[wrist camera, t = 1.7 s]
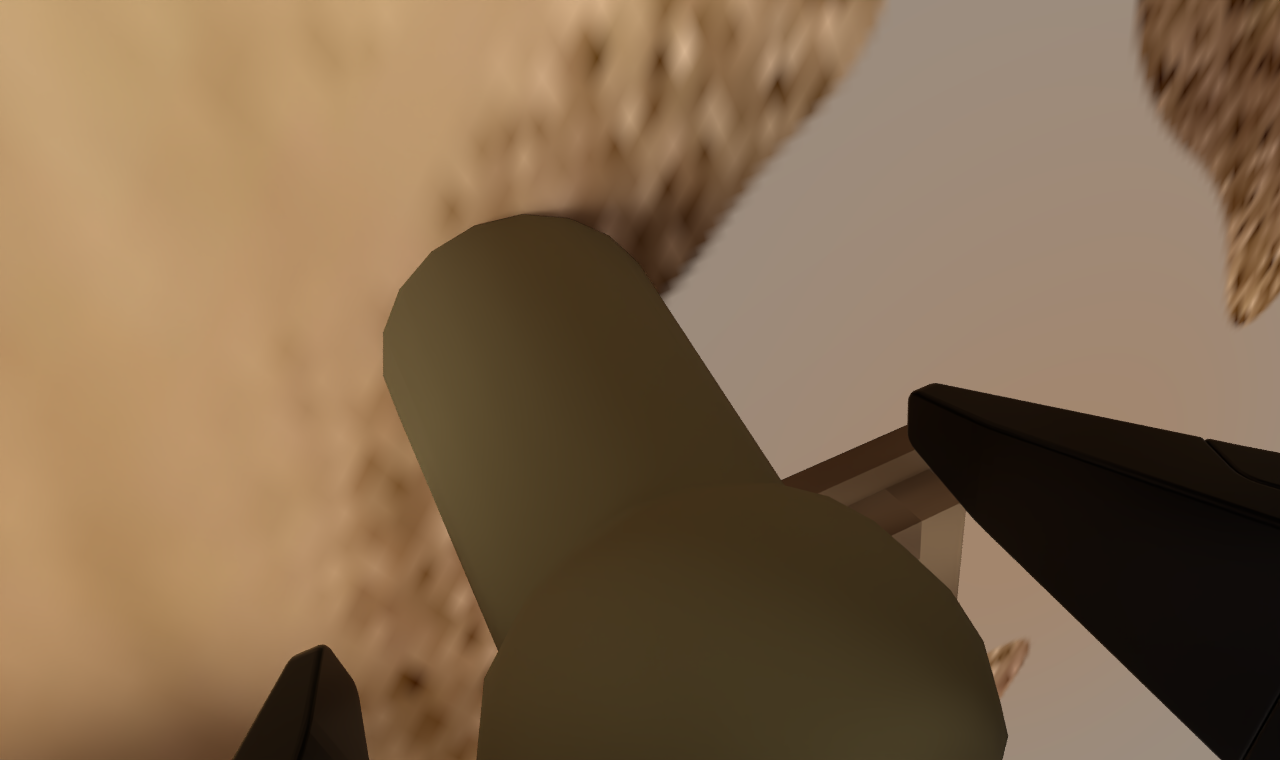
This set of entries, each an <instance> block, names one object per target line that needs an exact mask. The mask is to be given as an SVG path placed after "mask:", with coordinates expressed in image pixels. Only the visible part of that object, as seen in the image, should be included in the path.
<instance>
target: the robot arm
mask: <svg viewBox="0 0 1280 760" xmlns="http://www.w3.org/2000/svg"><path fill="white" fill-rule="evenodd" d="M907 434H908V438H909V441H910V443H911V445H912V447H913V448H914V449H915V451H916V452H917V453H918V454H919V455H920V457H921V458H922V459H923V460H924V461H925V462H926V464H927V465H928V466H929V467H930V468H931V470H932V471H933V472H934V473H935V474H936V476H937V477H938V478H939V479H940V480H941V482H942V483H943V484H944V485H945V486H946V487H947V489H948V490H949V491H950V492H951V493H952V495H953V496H954V497H955V498H956V499H957V501H958V502H959V503H960V504H961V505H962V506H963V508H964V509H965V510H966V511H967V512H968V513H969V514H970V515H971V517H972V518H973V519H974V520H975V521H976V522H977V523H978V524H979V525H980V526H981V527H982V528H983V529H984V530H985V531H986V532H987V533H988V534H989V535H990V536H991V537H992V538H993V539H994V540H995V541H996V542H997V543H998V544H999V545H1000V546H1001V547H1002V548H1003V549H1004V550H1006V552H1008V553H1009V554H1010V555H1011V556H1012V557H1013V558H1014V559H1015V560H1016V561H1017V562H1018V563H1019V564H1020V565H1021V566H1022V567H1023V568H1024V569H1025V570H1026V571H1027V572H1028V573H1029V574H1030V575H1031V576H1032V577H1033V578H1034V579H1035V580H1036V581H1037V582H1038V583H1039V584H1040V585H1041V586H1043V587H1044V588H1045V589H1046V590H1047V591H1048V592H1049V593H1050V594H1051V595H1052V596H1053V597H1054V598H1055V599H1056V600H1057V601H1058V602H1059V603H1060V604H1061V605H1062V606H1063V607H1064V608H1065V609H1066V610H1067V611H1068V612H1069V613H1070V614H1071V615H1072V616H1073V617H1074V618H1075V619H1076V620H1078V621H1079V622H1080V623H1081V624H1082V625H1083V626H1084V627H1085V628H1086V629H1087V630H1088V631H1089V632H1090V633H1091V634H1092V635H1093V636H1094V637H1095V638H1096V639H1097V640H1098V641H1099V642H1100V643H1101V644H1102V645H1103V646H1104V647H1106V649H1107V650H1108V651H1109V652H1110V653H1111V654H1113V655H1114V656H1115V657H1116V658H1117V659H1118V660H1119V661H1120V662H1121V663H1122V664H1123V665H1124V666H1125V667H1126V668H1127V669H1128V670H1129V671H1130V672H1131V673H1132V674H1133V675H1134V676H1135V677H1136V678H1137V679H1138V680H1139V681H1140V682H1141V683H1142V684H1143V685H1145V687H1147V689H1149V690H1150V691H1151V692H1152V693H1153V694H1154V695H1155V696H1156V697H1157V698H1158V699H1159V700H1160V701H1161V702H1162V703H1163V704H1164V705H1165V706H1166V707H1167V708H1168V709H1169V710H1170V711H1171V712H1172V713H1173V714H1174V715H1175V716H1177V718H1178V719H1180V721H1181V722H1183V723H1184V724H1185V725H1186V726H1187V727H1188V728H1189V729H1190V730H1191V731H1192V732H1193V733H1194V734H1195V735H1196V736H1197V737H1198V738H1199V739H1200V740H1201V741H1202V742H1203V743H1204V744H1205V745H1206V746H1207V747H1208V748H1209V749H1210V750H1211V751H1212V752H1213V753H1214V754H1215V755H1217V756H1218V757H1219V758H1220V759H1221V760H1280V453H1278V452H1273V451H1267V450H1262V449H1257V448H1252V447H1246V446H1241V445H1236V444H1232V443H1227V442H1222V441H1217V440H1213V439H1206V440H1204V439H1203V438H1201V437H1197V436H1192V435H1187V434H1182V433H1178V432H1172V431H1168V430H1163V429H1158V428H1153V427H1148V426H1144V425H1138V424H1134V423H1129V422H1124V421H1119V420H1114V419H1109V418H1105V417H1100V416H1095V415H1090V414H1085V413H1080V412H1075V411H1070V410H1065V409H1060V408H1055V407H1051V406H1045V405H1041V404H1036V403H1031V402H1026V401H1021V400H1016V399H1012V398H1007V397H1002V396H997V395H992V394H987V393H982V392H978V391H972V390H968V389H963V388H958V387H953V386H948V385H943V384H938V383H933V384H929V385H927V386H924V387H922V388H920V389H917V390H915V391H913V392H912V393H911V394H910V396H909V399H908V423H907ZM233 760H369V757H368V751H367V744H366V738H365V732H364V725H363V719H362V713H361V706H360V700H359V695H358V691H357V688H356V685H355V683H354V681H353V679H352V678H351V676H350V675H349V674H348V672H347V671H346V669H345V668H344V667H343V665H342V664H341V663H340V661H339V660H338V658H337V657H336V656H335V654H334V653H333V652H332V650H331V649H330V648H329V647H327V646H326V645H318V646H316V647H313V648H311V649H309V650H306V651H304V652H302V653H299V654H297V655H295V656H293V657H292V658H291V659H290V660H289V661H288V663H287V664H286V666H285V668H284V670H283V671H282V673H281V675H280V677H279V679H278V680H277V682H276V684H275V686H274V687H273V689H272V691H271V693H270V694H269V696H268V698H267V700H266V701H265V703H264V705H263V707H262V709H261V710H260V712H259V714H258V716H257V717H256V719H255V721H254V723H253V724H252V726H251V728H250V730H249V731H248V733H247V735H246V737H245V738H244V740H243V742H242V744H241V746H240V747H239V749H238V751H237V753H236V754H235V756H234V758H233Z"/></svg>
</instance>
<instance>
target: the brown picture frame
mask: <svg viewBox="0 0 1280 760" xmlns="http://www.w3.org/2000/svg"><path fill="white" fill-rule="evenodd" d="M781 481H782V483H783V484H784V485H785V486H789V487H793V488H797V489H801V490H805V491H809V492H813V493H817V494H821V495H825V496H829V497H831V498H833V499H835V500H836V501H838V502H840V503H842V504H844V505H846V506H848V507H849V508H851V509H853V510H855V511H857V512H859V513H860V514H862V515H864V516H866V517H868V518H870V519H872V520H873V521H875V522H876V523H877V524H878V525H879V526H881V527H882V528H883V529H884V530H885V531H886V532H888V533H889V534H890V535H891V536H892V537H893V538H894V539H896V540H897V541H898V542H899V543H900V544H901V545H902V546H904V547H905V548H906V549H907V550H908V551H909V552H910V553H911V554H912V555H914V556H915V557H916V558H917V559H918V560H919V561H920V562H921V563H922V564H923V565H924V566H925V567H926V568H928V569H929V570H930V571H931V572H932V573H933V574H934V575H935V576H936V577H937V578H938V579H939V580H940V581H942V582H943V583H944V584H945V585H946V586H947V587H948V588H949V589H950V590H951V591H952V593H953V595H954V596H955V598H956V599H957V594H958V583H959V573H960V564H961V563H960V562H961V553H962V542H963V533H964V523H965V522H964V521H965V512H966V510H965V509H964V508H963V506H962V505H961V504H960V503H959V502H958V501H957V499H956V498H955V497H954V496H953V495H952V493H951V492H950V491H949V490H948V489H947V487H946V486H945V485H944V484H943V483H942V482H941V480H940V479H939V478H938V477H937V476H936V474H935V473H934V472H933V471H932V470H931V468H930V467H929V466H928V465H927V464H926V462H925V461H924V460H923V459H922V458H921V457H920V455H919V454H918V453H917V452H916V451H915V449H914V448H913V447H912V445H911V443H910V441H909V438H908V434H907V425H906V426H904V427H901V428H899V429H897V430H894V431H892V432H890V433H888V434H886V435H883V436H881V437H878V438H876V439H874V440H872V441H869V442H867V443H865V444H862V445H860V446H858V447H856V448H854V449H851V450H849V451H847V452H845V453H842V454H840V455H837V456H835V457H833V458H831V459H828V460H826V461H824V462H822V463H819V464H817V465H815V466H813V467H810V468H808V469H806V470H804V471H801V472H799V473H797V474H794V475H792V476H790V477H787V478H785V479H783V480H781Z"/></svg>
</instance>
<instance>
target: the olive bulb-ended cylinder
mask: <svg viewBox="0 0 1280 760" xmlns="http://www.w3.org/2000/svg"><path fill="white" fill-rule="evenodd" d="M383 376H384V379H385V382H386V384H387V387H388V389H389V392H390V394H391V397H392V400H393V402H394V405H395V407H396V410H397V412H398V415H399V417H400V420H401V422H402V424H403V427H404V429H405V432H406V434H407V436H408V439H409V441H410V443H411V446H412V448H413V451H414V453H415V455H416V458H417V460H418V462H419V465H420V467H421V469H422V472H423V474H424V477H425V479H426V481H427V484H428V486H429V488H430V491H431V493H432V496H433V498H434V500H435V503H436V505H437V507H438V510H439V512H440V514H441V517H442V519H443V522H444V524H445V526H446V529H447V531H448V533H449V536H450V538H451V541H452V543H453V545H454V548H455V550H456V552H457V555H458V557H459V560H460V562H461V564H462V567H463V569H464V571H465V574H466V576H467V578H468V581H469V583H470V586H471V588H472V590H473V593H474V595H475V597H476V600H477V602H478V605H479V607H480V609H481V612H482V614H483V616H484V619H485V621H486V623H487V626H488V628H489V631H490V633H491V635H492V638H493V640H494V642H495V645H496V647H497V650H498V653H497V655H496V657H495V659H494V661H493V663H492V665H491V666H490V668H489V670H488V672H487V674H486V676H485V678H484V686H483V696H482V707H481V718H480V728H479V739H478V750H477V760H1002V759H1003V755H1004V751H1005V747H1006V742H1007V738H1008V734H1007V729H1006V725H1005V721H1004V716H1003V712H1002V707H1001V703H1000V699H999V696H998V692H997V689H996V685H995V681H994V678H993V674H992V671H991V667H990V663H989V660H988V656H987V653H986V649H985V645H984V642H983V640H982V638H981V637H980V635H979V634H978V632H977V630H976V629H975V628H974V626H973V624H972V623H971V621H970V620H969V618H968V616H967V615H966V614H965V612H964V610H963V609H962V607H961V606H960V604H959V603H958V601H957V599H956V598H955V596H954V595H953V593H952V591H951V590H950V589H949V588H948V587H947V586H946V585H945V584H944V583H943V582H942V581H940V580H939V579H938V578H937V577H936V576H935V575H934V574H933V573H932V572H931V571H930V570H929V569H928V568H926V567H925V566H924V565H923V564H922V563H921V562H920V561H919V560H918V559H917V558H916V557H915V556H914V555H912V554H911V553H910V552H909V551H908V550H907V549H906V548H905V547H904V546H902V545H901V544H900V543H899V542H898V541H897V540H896V539H894V538H893V537H892V536H891V535H890V534H889V533H888V532H886V531H885V530H884V529H883V528H882V527H881V526H879V525H878V524H877V523H876V522H875V521H873V520H872V519H870V518H868V517H866V516H864V515H862V514H860V513H859V512H857V511H855V510H853V509H851V508H849V507H848V506H846V505H844V504H842V503H840V502H838V501H836V500H835V499H833V498H831V497H829V496H825V495H821V494H817V493H813V492H809V491H805V490H801V489H797V488H793V487H789V486H785V485H784V484H783V483H782V481H781V480H780V478H779V477H778V475H777V474H776V472H775V471H774V469H773V467H772V466H771V464H770V463H769V461H768V460H767V458H766V457H765V455H764V454H763V452H762V451H761V449H760V447H759V446H758V444H757V443H756V442H755V440H754V438H753V437H752V435H751V434H750V432H749V431H748V430H747V428H746V426H745V425H744V423H743V422H742V420H741V419H740V417H739V416H738V414H737V413H736V411H735V410H734V408H733V406H732V405H731V403H730V402H729V401H728V399H727V397H726V396H725V394H724V393H723V391H722V390H721V389H720V387H719V385H718V384H717V382H716V381H715V379H714V377H713V376H712V375H711V373H710V371H709V370H708V368H707V367H706V366H705V364H704V362H703V361H702V359H701V358H700V356H699V355H698V353H697V352H696V350H695V349H694V347H693V346H692V344H691V343H690V341H689V339H688V338H687V336H686V335H685V333H684V332H683V330H682V329H681V327H680V326H679V324H678V323H677V321H676V320H675V318H674V317H673V315H672V314H671V312H670V311H669V309H668V307H667V306H666V304H665V303H664V301H663V300H662V298H661V297H660V295H659V294H658V292H657V291H656V289H655V288H654V286H653V285H652V283H651V282H650V280H649V279H648V277H647V275H646V274H645V272H644V271H643V269H642V268H641V266H640V265H639V263H638V262H636V261H635V260H634V259H633V258H632V257H631V256H630V255H629V254H628V253H627V252H626V251H625V250H624V249H623V248H622V247H620V246H619V245H618V244H617V243H616V242H615V241H614V240H613V239H612V238H611V237H610V236H608V235H606V234H604V233H602V232H599V231H597V230H595V229H592V228H590V227H588V226H585V225H583V224H581V223H579V222H576V221H574V220H572V219H569V218H559V217H547V216H534V215H518V216H514V217H510V218H505V219H501V220H497V221H493V222H489V223H485V224H480V225H476V226H473V227H472V228H470V229H468V230H467V231H465V232H463V233H462V234H460V235H458V236H457V237H455V238H454V239H452V240H450V241H449V242H447V243H445V244H444V245H442V246H440V247H439V248H437V249H435V250H434V251H432V252H431V253H430V254H429V255H428V257H427V258H426V259H425V260H424V261H423V262H422V264H421V265H420V266H419V267H418V268H417V270H416V271H415V272H414V273H413V274H412V275H411V277H410V278H409V279H408V280H407V281H406V282H405V284H404V285H403V286H402V287H401V288H400V290H399V293H398V295H397V298H396V300H395V303H394V306H393V308H392V311H391V314H390V316H389V319H388V321H387V324H386V327H385V329H384V332H383Z"/></svg>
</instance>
